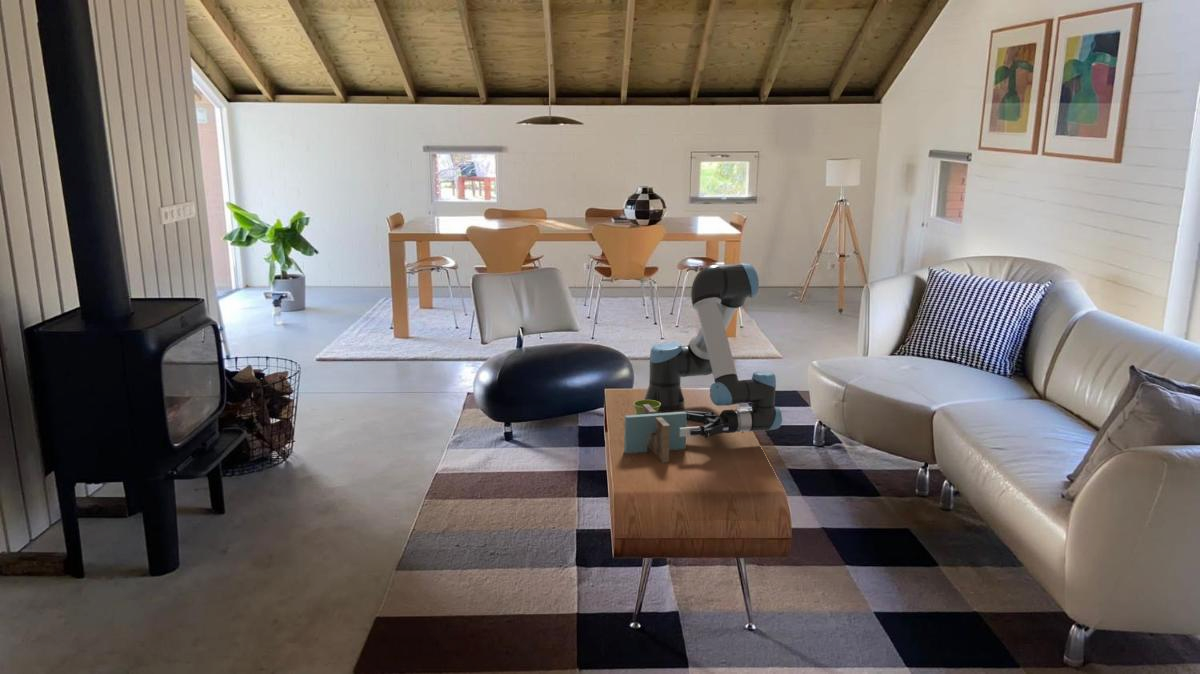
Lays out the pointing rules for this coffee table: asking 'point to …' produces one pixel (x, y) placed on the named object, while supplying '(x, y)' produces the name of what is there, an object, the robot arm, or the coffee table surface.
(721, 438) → the coffee table surface
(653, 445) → the walnut board
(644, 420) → the slotted plate
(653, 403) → the plant pot
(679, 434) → the robot arm
